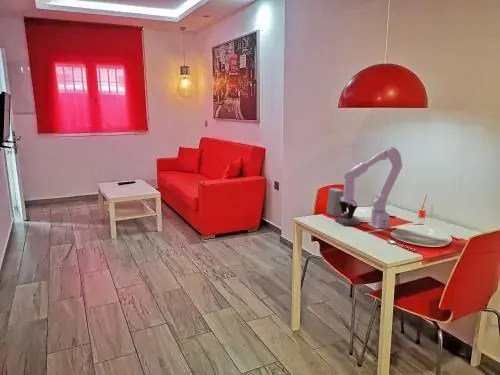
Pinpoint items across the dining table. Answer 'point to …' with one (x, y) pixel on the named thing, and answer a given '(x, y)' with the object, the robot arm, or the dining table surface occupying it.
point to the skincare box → (334, 202)
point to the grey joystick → (347, 221)
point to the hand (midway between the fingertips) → (347, 215)
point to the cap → (345, 215)
